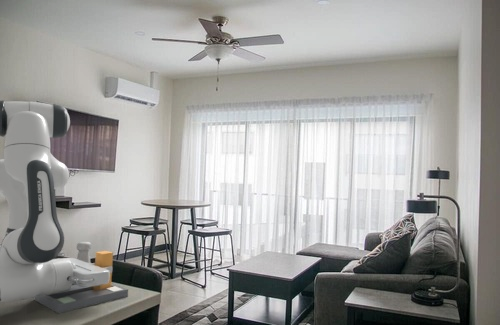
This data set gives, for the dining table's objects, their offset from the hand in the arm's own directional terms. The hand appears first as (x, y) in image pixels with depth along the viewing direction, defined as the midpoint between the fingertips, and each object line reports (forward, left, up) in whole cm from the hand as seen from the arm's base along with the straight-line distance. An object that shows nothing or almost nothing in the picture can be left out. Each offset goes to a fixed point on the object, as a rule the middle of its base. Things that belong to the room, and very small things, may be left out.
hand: (106, 267), depth 113 cm
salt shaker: (-14, 0, -8) cm, 16 cm away
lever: (0, -1, -6) cm, 6 cm away
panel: (0, -7, -8) cm, 10 cm away
